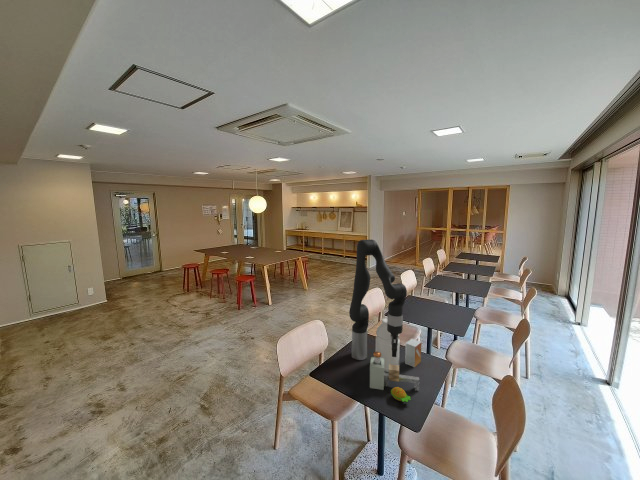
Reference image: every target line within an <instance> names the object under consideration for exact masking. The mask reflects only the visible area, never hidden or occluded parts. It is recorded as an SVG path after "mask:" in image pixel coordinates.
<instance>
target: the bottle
mask: <svg viewBox="0 0 640 480" xmlns="http://www.w3.org/2000/svg"><path fill="white" fill-rule="evenodd" d="M387 318H388V317H384V318H382V320H381V324H380V325H378V327H377V328H376V331H375V334H376V336H375V340H374V341H375V351H374V352H376V351H378V352H380V353H381V357H380V358H384V372H385V373H389V364H391V365H399V366H400V348H401V347H400V343H401V340H400V338H399V339H398V346H397V354H396V357H392V345H391V333H389V332H388V331H387ZM398 336H399V337H400V334H398Z"/></svg>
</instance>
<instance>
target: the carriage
mask: <svg viewBox="0 0 640 480" xmlns="http://www.w3.org/2000/svg"><path fill="white" fill-rule="evenodd" d="M388 373H389V379H388V382H389V381H390V382H391V381H392V382H398V383H399V382H400V381H399V375H400V364H399V365H391V364H389V372H388Z"/></svg>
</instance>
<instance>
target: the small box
mask: <svg viewBox="0 0 640 480" xmlns="http://www.w3.org/2000/svg"><path fill="white" fill-rule="evenodd" d="M404 357H405V359H404V363H405V365H408V366H410V367H413V368H416V367H417V366H418V365H419V364H421V362H422V341H421V340H417V339H415V338H410V340H409V339H408V341H406V342H405V353H404Z"/></svg>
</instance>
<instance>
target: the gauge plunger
mask: <svg viewBox="0 0 640 480" xmlns="http://www.w3.org/2000/svg"><path fill="white" fill-rule="evenodd" d="M373 357H374V364H377V365H380V357H381V353H380V352H378V351H376V352H375V351H374V352H373Z"/></svg>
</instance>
